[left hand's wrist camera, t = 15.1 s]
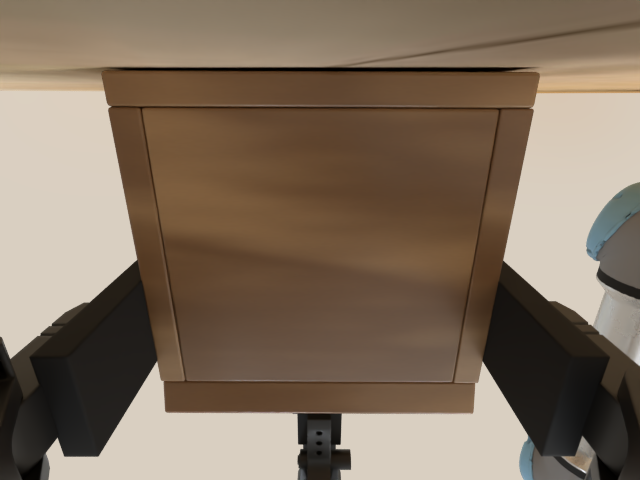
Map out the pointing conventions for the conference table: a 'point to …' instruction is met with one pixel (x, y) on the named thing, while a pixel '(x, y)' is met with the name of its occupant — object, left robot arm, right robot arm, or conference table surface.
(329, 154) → the chest
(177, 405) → the lid
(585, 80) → the conference table surface
